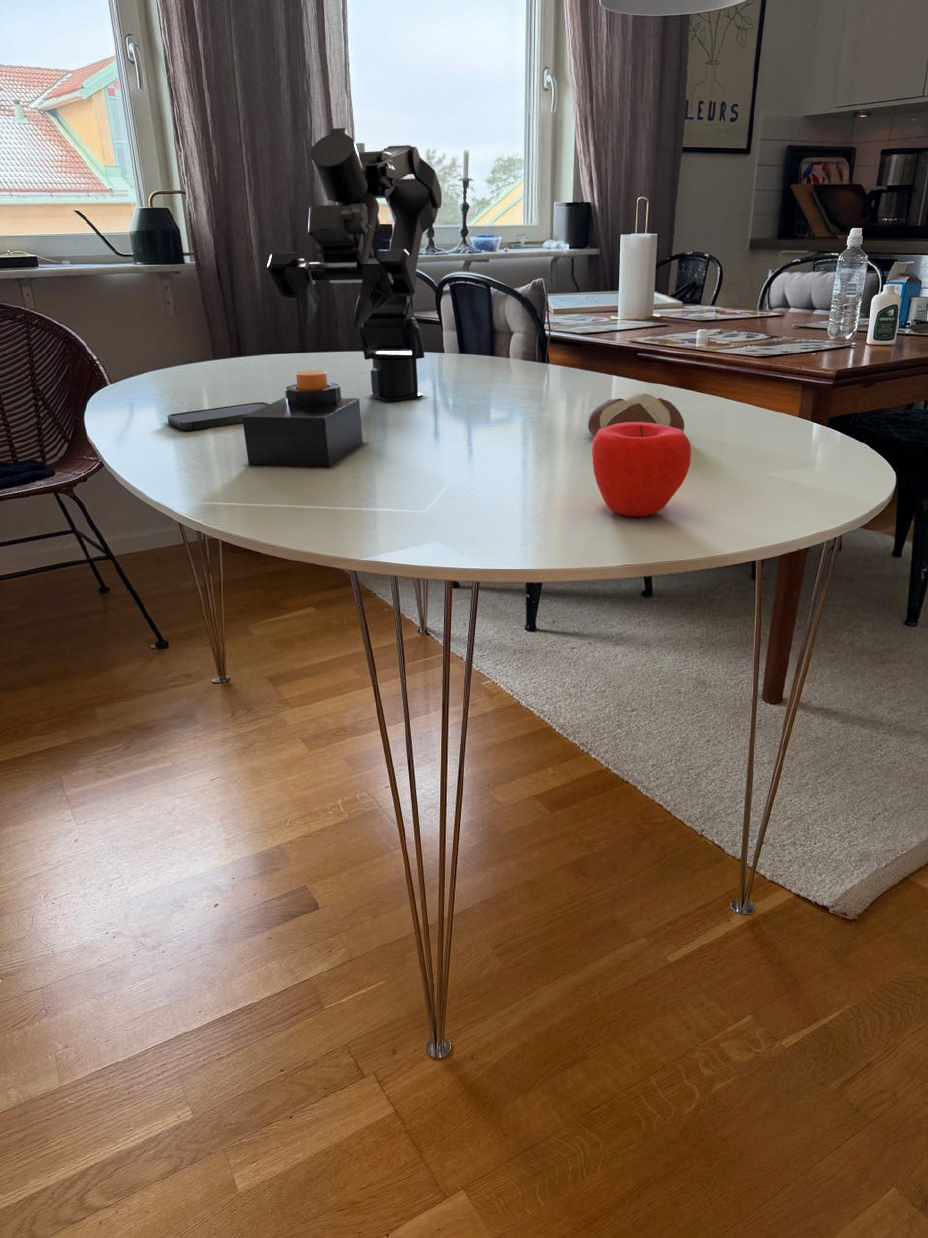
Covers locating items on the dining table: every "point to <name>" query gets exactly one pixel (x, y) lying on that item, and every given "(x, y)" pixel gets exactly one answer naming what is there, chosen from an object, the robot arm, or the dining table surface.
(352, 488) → the dining table surface
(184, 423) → the phone
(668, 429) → the apple
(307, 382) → the button
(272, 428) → the black switch box
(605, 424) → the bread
